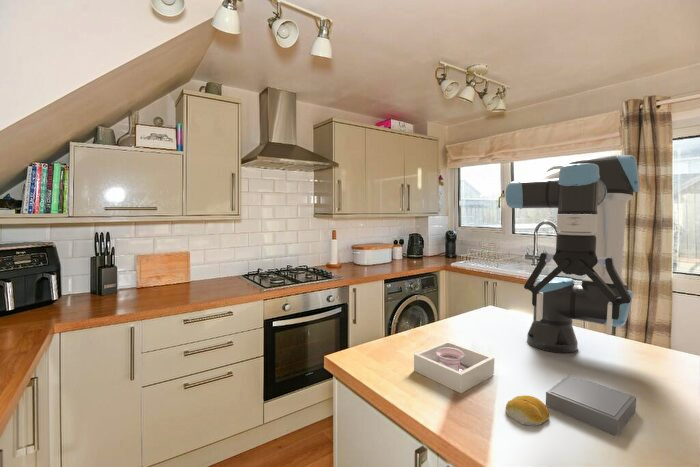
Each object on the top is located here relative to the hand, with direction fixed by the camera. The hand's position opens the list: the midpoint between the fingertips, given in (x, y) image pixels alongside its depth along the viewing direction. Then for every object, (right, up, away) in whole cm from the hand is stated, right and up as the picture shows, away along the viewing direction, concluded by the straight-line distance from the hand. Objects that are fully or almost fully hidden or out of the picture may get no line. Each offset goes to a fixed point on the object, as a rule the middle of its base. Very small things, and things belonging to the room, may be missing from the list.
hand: (572, 326), depth 78 cm
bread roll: (-10, -21, 0) cm, 23 cm away
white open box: (-21, -19, +21) cm, 35 cm away
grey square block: (+6, -20, +3) cm, 21 cm away
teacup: (-22, -20, +21) cm, 36 cm away
